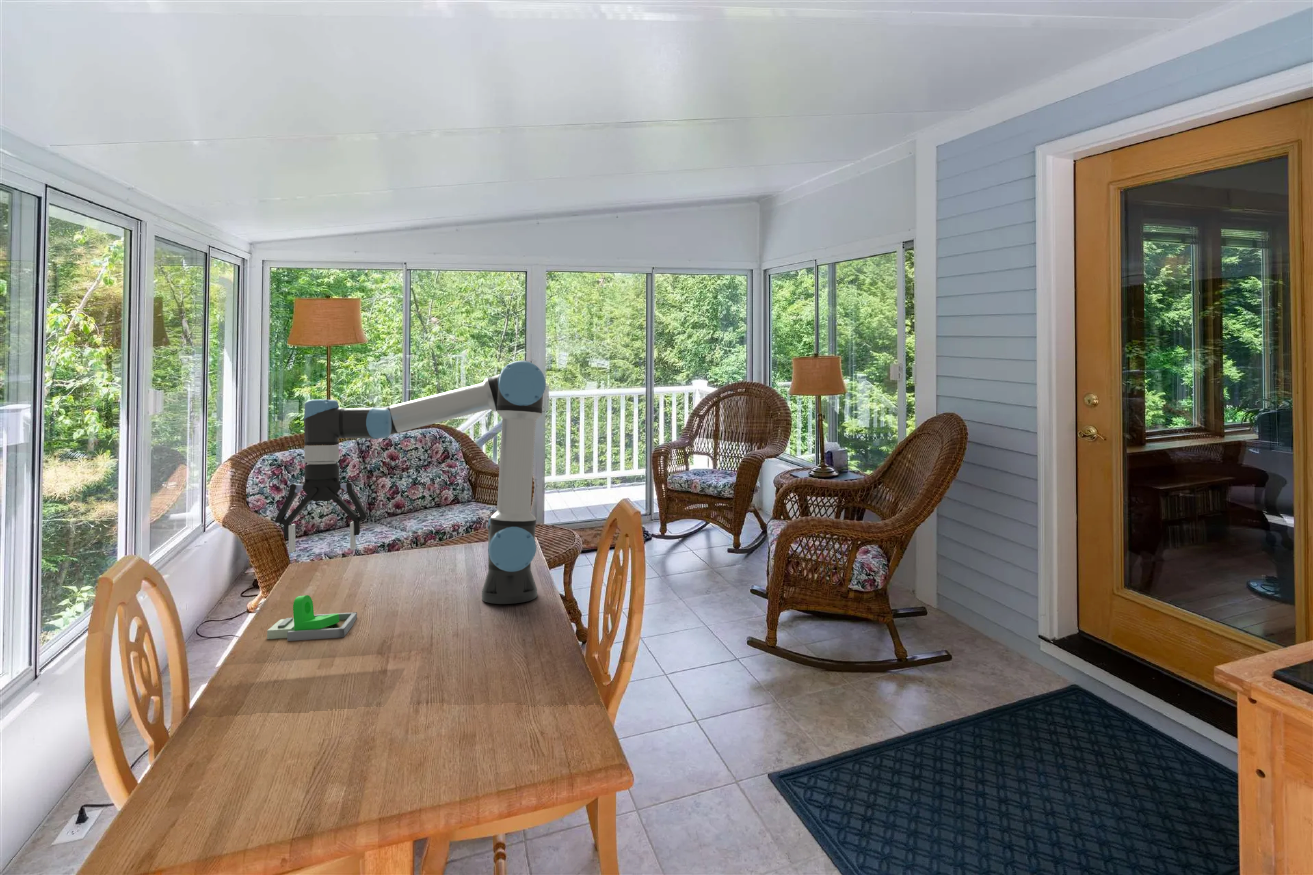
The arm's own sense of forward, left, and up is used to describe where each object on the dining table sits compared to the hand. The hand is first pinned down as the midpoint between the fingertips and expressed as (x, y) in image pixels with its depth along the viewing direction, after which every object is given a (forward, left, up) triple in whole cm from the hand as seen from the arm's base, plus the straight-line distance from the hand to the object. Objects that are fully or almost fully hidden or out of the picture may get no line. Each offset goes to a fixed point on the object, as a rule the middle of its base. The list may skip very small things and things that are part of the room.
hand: (322, 550), depth 162 cm
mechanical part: (+1, +1, -19) cm, 19 cm away
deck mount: (0, 0, -19) cm, 19 cm away
